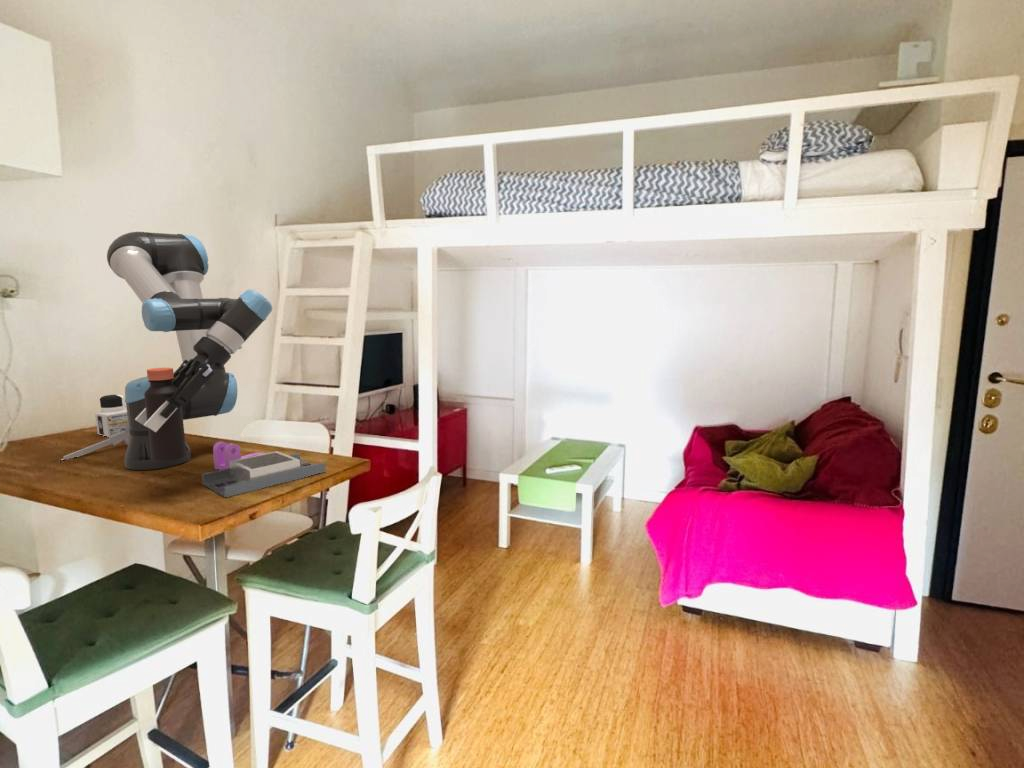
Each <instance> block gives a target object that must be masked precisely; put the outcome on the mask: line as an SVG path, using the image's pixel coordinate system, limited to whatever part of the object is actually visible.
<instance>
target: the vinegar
mask: <svg viewBox="0 0 1024 768" xmlns="http://www.w3.org/2000/svg"><path fill="white" fill-rule="evenodd" d="M146 375H147V376H148V380H149V381H148V382H150V387H149V388H148V389H147V390H146V392H145V394H144V396H145V405H146V414H147V420H148V419H149V418H150V417H151V416H152V415H153V414H154V413H155V412H156V411H157V410H158V408H159V407H160V406H161V405H162V404H164V403H165V402H166V401H167V400H166V397H170V398H171V396H172V395H173V394H174V392H175V391H176V390H177V387H176V386H174V385H173V380H174V379H173V378H174V368H173V367H154V368H150V369H146ZM147 376H146V377H147ZM168 402H169V401H168ZM169 403H170V402H169ZM148 432H149V441H150V450H151V458H152V459H153V460H155V461H169V460H175V459H179V458H182V457H184V456H185V455H186V444H185V441H186V435H185V424H184V420H183V414H182V406H181V407H179V408H178V407H177V409H176V411H175V412H174V413H173V414H172V415H171V416H170V417H169V418H168V419H167V421H166V422H165V423H164V424H163V425H162V426H161V427H160V428H159V429H158V431H157V432H154V431H153V430H151V429H150V428H148Z"/></svg>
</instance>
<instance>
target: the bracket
mask: <svg viewBox="0 0 1024 768" xmlns="http://www.w3.org/2000/svg"><path fill="white" fill-rule="evenodd" d="M212 453H213V454H212V455H213V462H214V463H213V465H214V470H217V469H219V470H223V469H227V468H229V461H232V460H237V459H242V458H246V457H251V456H256V455H261V454H265V452H254V453H249V454H246V455H242V454H241V453H242V452H241V446H240V445H238V444H236V443H232V442H231V443H228V442H225V441H217V442H216V443H215V444H213V448H212Z"/></svg>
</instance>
